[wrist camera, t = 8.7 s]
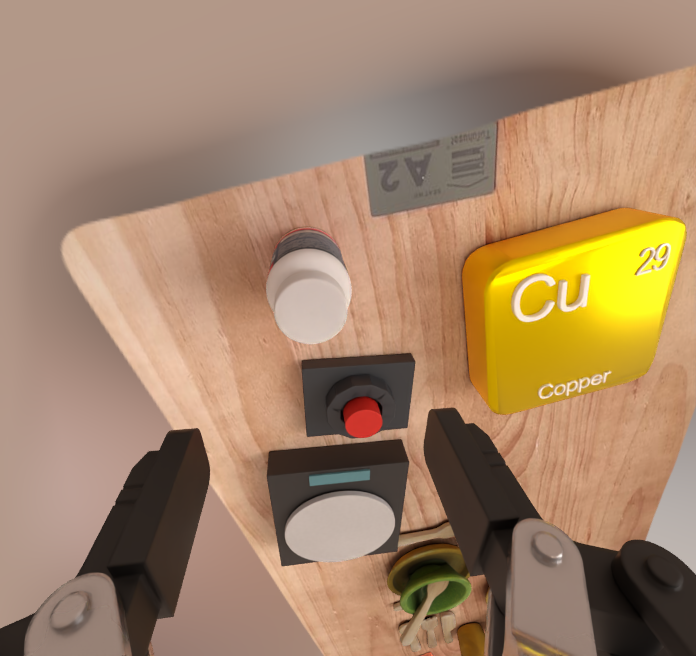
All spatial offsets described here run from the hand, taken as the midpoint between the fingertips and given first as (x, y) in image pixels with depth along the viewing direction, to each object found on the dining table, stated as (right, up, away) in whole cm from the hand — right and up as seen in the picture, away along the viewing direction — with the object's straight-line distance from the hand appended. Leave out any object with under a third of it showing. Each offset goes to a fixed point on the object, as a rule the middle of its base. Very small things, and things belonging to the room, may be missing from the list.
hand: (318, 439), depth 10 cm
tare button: (+2, -4, +20) cm, 20 cm away
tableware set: (+21, -37, +44) cm, 62 cm away
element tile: (+19, +5, +20) cm, 28 cm away
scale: (0, -16, +29) cm, 33 cm away
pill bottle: (-2, +9, +16) cm, 18 cm away
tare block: (+2, -3, +22) cm, 22 cm away
